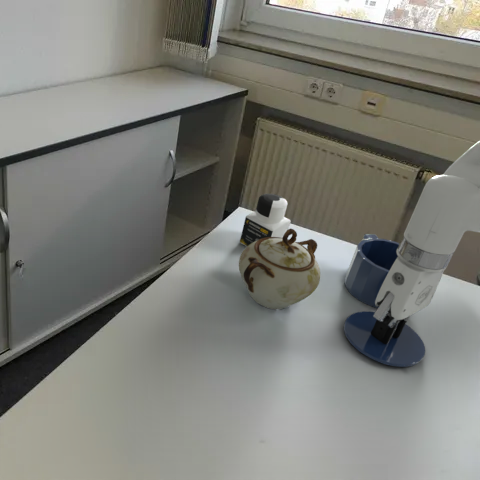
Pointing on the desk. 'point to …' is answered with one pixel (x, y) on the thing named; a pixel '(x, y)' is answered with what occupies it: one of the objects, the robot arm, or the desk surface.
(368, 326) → the lid
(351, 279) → the pot
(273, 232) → the medicine bottle
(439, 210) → the robot arm
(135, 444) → the desk surface
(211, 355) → the desk surface
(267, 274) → the sugar bowl
